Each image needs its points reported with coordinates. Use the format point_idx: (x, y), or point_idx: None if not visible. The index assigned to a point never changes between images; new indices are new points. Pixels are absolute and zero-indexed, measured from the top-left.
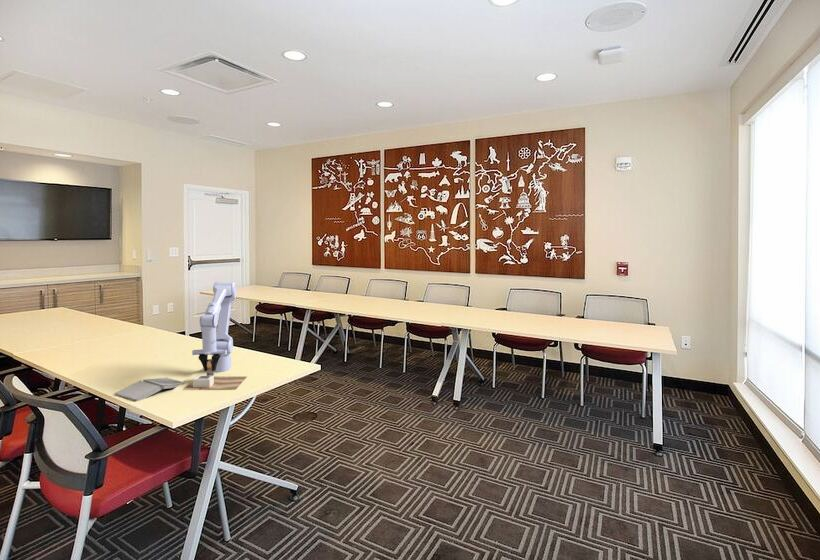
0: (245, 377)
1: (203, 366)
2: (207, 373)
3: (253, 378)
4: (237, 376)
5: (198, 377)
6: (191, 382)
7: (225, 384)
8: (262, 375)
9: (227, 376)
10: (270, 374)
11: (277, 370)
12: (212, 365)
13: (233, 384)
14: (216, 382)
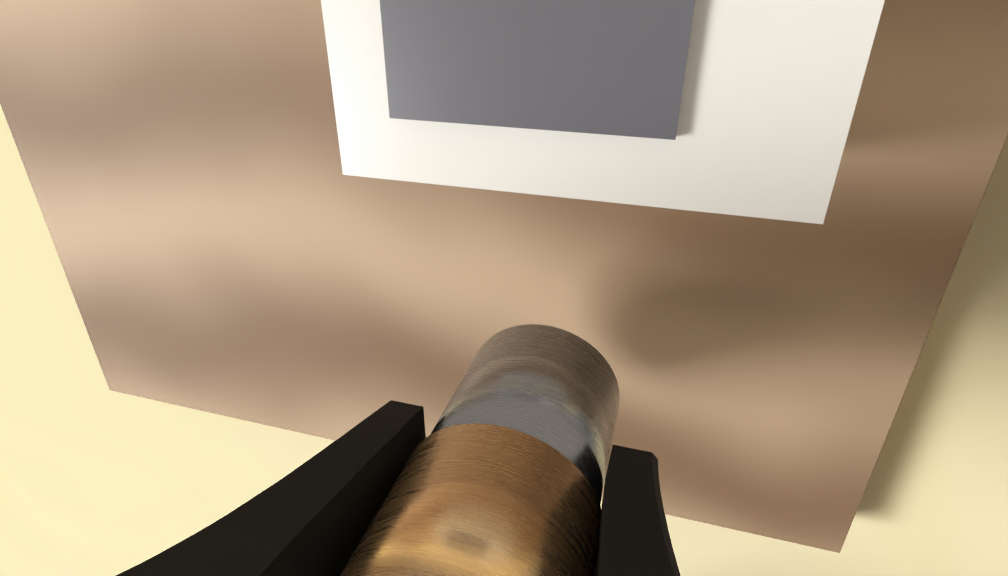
0: (104, 351)
1: (654, 557)
2: (568, 375)
3: (88, 372)
4: (224, 412)
5: (743, 5)
6: (962, 231)
7: (188, 31)
8: (63, 447)
9: None
10: (14, 457)
11: (32, 544)
12: (364, 538)
13: (62, 22)
14: None
